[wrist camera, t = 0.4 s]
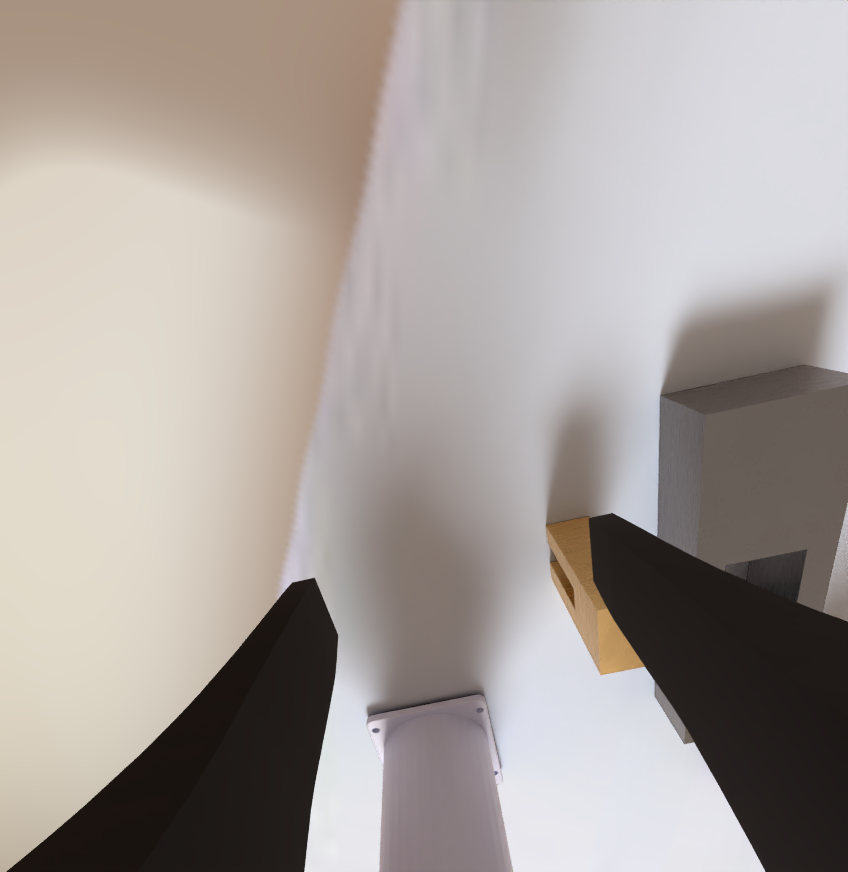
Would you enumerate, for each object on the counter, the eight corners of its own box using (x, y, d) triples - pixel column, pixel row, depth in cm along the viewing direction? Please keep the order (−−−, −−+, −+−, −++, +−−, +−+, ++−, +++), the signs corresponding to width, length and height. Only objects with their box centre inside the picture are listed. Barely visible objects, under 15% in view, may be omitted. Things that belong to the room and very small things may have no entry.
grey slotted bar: (755, 676, 27) (796, 722, 24) (654, 696, 27) (684, 744, 24) (805, 364, 19) (876, 379, 16) (660, 395, 19) (705, 415, 16)
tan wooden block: (592, 570, 23) (655, 664, 17) (551, 578, 23) (600, 675, 17) (589, 516, 21) (656, 598, 16) (545, 525, 21) (597, 610, 16)
